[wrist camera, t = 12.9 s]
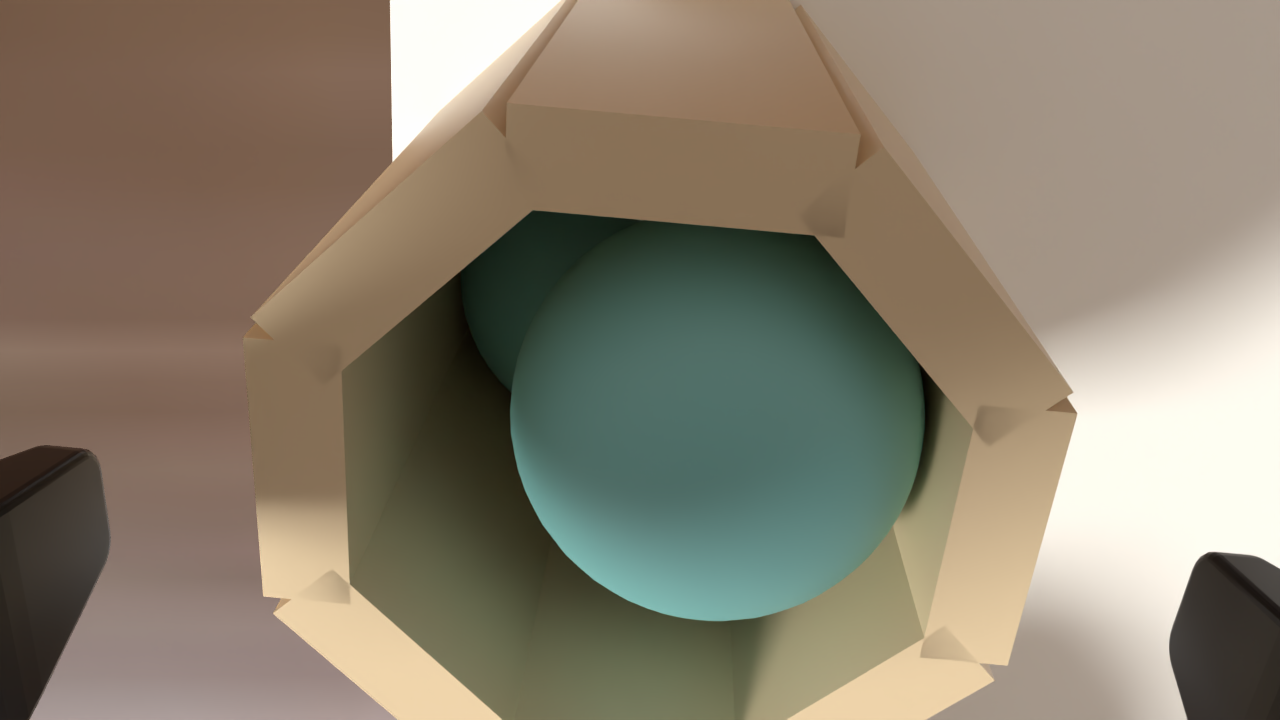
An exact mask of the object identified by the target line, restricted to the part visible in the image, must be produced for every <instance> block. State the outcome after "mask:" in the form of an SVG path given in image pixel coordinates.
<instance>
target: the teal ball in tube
mask: <svg viewBox="0 0 1280 720" xmlns="http://www.w3.org/2000/svg"><path fill="white" fill-rule="evenodd" d="M640 221H643V220H637V219H626V218H615V217H604V216H593V215H581V214H570V213H559V212H548V211H537V210H533V211H531V212H530V213H529V214H528V215H527V216H525V217H524V218H523V219H522V220H521V221H519V222H518V223H517V224H516V225H515V226H513V227H512V228H511V229H510V230H509V231H508V232H506V233H505V234H504V235H503V236H502V237H500V238H499V239H498V240H497V241H496V242H494V243H493V244H492V245H491V246H490V247H488V248H487V249H486V250H485V251H484V252H483V253H481V254H480V255H479V256H478V257H477V258H475V259H474V260H473V261H472V262H471V263H469V264H468V265H467V266H466V267H465V268H463V269H462V270H461V293H462V301H463V306H464V312H465V316H466V319H467V322H468V325H469V328H470V331H471V334H472V337H473V339H474V341H475V343H476V345H477V347H478V350H479V352H480V354H481V355H482V357H483V358H484V360H485V362H486V363H487V365H488V367H489V368H490V369H491V371H492V372H493V373H494V374H495V376H496V377H497V378H498V379H499V381H500V382H501V383H502V384H503V385H504V386H505V387H506V388H507V389H508V390H509V391H510V392H511V393H512V384H513V376H514V372H515V367H516V363H517V358H518V355H519V352H520V349H521V346H522V343H523V340H524V337H525V335H526V333H527V330H528V328H529V326H530V324H531V322H532V320H533V318H534V316H535V314H536V312H537V311H538V309H539V307H540V306H541V304H542V303H543V301H544V299H545V298H546V296H547V295H548V293H549V292H550V291H551V289H552V288H553V287H554V286H555V284H556V283H557V282H558V281H559V279H560V278H561V277H562V276H563V275H564V274H565V273H566V272H567V271H568V270H569V269H570V268H571V266H572V265H573V264H574V263H575V262H576V261H577V260H578V259H580V258H581V257H582V256H583V255H585V254H586V253H587V252H588V251H590V250H591V249H592V248H593V247H595V246H596V245H597V244H599V243H600V242H602V241H604V240H605V239H607V238H609V237H610V236H612V235H613V234H615V233H617V232H619V231H621V230H623V229H625V228H627V227H629V226H632V225H634V224H636V223H638V222H640Z"/></svg>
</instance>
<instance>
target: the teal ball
mask: <svg viewBox="0 0 1280 720" xmlns="http://www.w3.org/2000/svg"><path fill="white" fill-rule="evenodd" d="M510 421H511V437H512V442H513V448H514V454H515V459H516V463H517V468H518V471H519V474H520V477H521V480H522V483H523V486H524V489H525V492H526V494H527V496H528V498H529V500H530V502H531V504H532V506H533V508H534V510H535V512H536V514H537V516H538V517H539V519H540V521H541V523H542V525H543V526H544V527H545V529H546V530H547V531H548V533H549V534H550V535H551V537H552V538H553V539H554V540H555V542H556V543H557V544H558V546H559V547H560V548H561V549H562V551H563V552H564V553H565V555H566V556H567V557H569V558H570V559H571V560H572V561H573V562H574V563H575V564H576V565H577V566H578V567H579V568H581V569H582V570H583V571H584V572H585V573H586V574H588V575H589V576H590V577H591V578H592V579H593V580H594V581H596V582H598V583H599V584H601V585H602V586H604V587H605V588H607V589H609V590H610V591H612V592H614V593H615V594H617V595H619V596H621V597H622V598H624V599H626V600H628V601H630V602H632V603H635V604H637V605H640V606H642V607H645V608H647V609H650V610H653V611H656V612H659V613H662V614H666V615H671V616H675V617H680V618H686V619H694V620H704V621H729V620H741V619H751V618H758V617H762V616H766V615H770V614H774V613H777V612H780V611H783V610H786V609H789V608H792V607H794V606H797V605H800V604H803V603H805V602H807V601H809V600H811V599H813V598H815V597H817V596H819V595H820V594H822V593H823V592H825V591H826V590H828V589H830V588H831V587H833V586H834V585H836V584H837V583H839V582H840V581H841V580H843V579H844V578H845V577H847V576H848V575H849V574H850V573H852V572H853V571H854V570H855V569H856V568H858V567H859V566H860V565H861V564H862V563H863V562H864V561H865V560H866V559H867V558H868V557H869V556H870V555H871V554H872V552H873V551H874V550H875V549H876V548H877V547H878V546H879V544H880V543H881V542H882V540H883V539H884V538H885V537H886V535H887V534H888V533H889V531H890V529H891V528H892V526H893V525H894V523H895V522H896V520H897V518H898V516H899V515H900V513H901V511H902V509H903V507H904V505H905V503H906V501H907V498H908V496H909V494H910V491H911V489H912V486H913V483H914V480H915V477H916V474H917V470H918V465H919V461H920V456H921V452H922V447H923V441H924V432H925V401H924V390H923V381H922V375H921V371H920V367H919V363H918V361H917V360H916V359H915V357H914V356H913V355H912V354H911V352H910V351H909V350H908V349H907V348H906V346H905V345H904V344H903V343H902V341H901V340H900V339H899V338H898V337H897V335H896V334H895V333H894V332H893V331H892V329H891V328H890V327H889V326H888V324H887V323H886V322H885V321H884V320H883V318H882V317H881V316H880V315H879V313H878V312H877V311H876V310H875V309H874V307H873V306H872V305H871V304H870V303H869V301H868V300H867V299H866V298H865V296H864V295H863V294H862V293H861V292H860V290H859V289H858V288H857V287H856V286H855V284H854V283H853V282H852V281H851V279H850V278H849V277H848V276H847V275H846V273H845V272H844V271H843V270H842V268H841V267H840V266H839V265H838V264H837V262H836V261H835V260H834V259H833V258H832V256H831V255H830V254H829V253H828V251H827V250H826V249H825V248H824V247H823V245H822V244H821V243H820V242H819V240H818V239H817V238H816V237H815V236H814V235H804V234H792V233H781V232H770V231H759V230H748V229H737V228H726V227H715V226H704V225H692V224H681V223H670V222H659V221H648V220H643V221H640V222H638V223H636V224H634V225H632V226H629V227H627V228H625V229H623V230H621V231H619V232H617V233H615V234H613V235H612V236H610V237H609V238H607V239H605V240H604V241H602V242H600V243H599V244H597V245H596V246H595V247H593V248H592V249H591V250H590V251H588V252H587V253H586V254H585V255H583V256H582V257H581V258H580V259H578V260H577V261H576V262H575V263H574V264H573V265H572V266H571V268H570V269H569V270H568V271H567V272H566V273H565V274H564V275H563V276H562V277H561V278H560V279H559V281H558V282H557V283H556V284H555V286H554V287H553V288H552V289H551V291H550V292H549V293H548V295H547V296H546V298H545V299H544V301H543V303H542V304H541V306H540V307H539V309H538V311H537V312H536V314H535V316H534V318H533V320H532V322H531V324H530V326H529V328H528V330H527V333H526V335H525V337H524V340H523V343H522V346H521V349H520V352H519V355H518V358H517V363H516V367H515V372H514V376H513V384H512V395H511V406H510Z"/></svg>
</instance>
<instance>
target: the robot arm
mask: <svg viewBox="0 0 1280 720" xmlns="http://www.w3.org/2000/svg"><path fill="white" fill-rule="evenodd" d="M110 538H111V537H110V527H109V520H108V513H107V506H106V500H105V493H104V486H103V479H102V472H101V468H100V464H99V461H98V459H97V457H96V456H95V455H94V454H93V453H92V452H91V451H89V450H87V449H82V448H72V447H61V446H50V445H44V446H37V447H34V448H31V449H29V450H26V451H23V452H20V453H17V454H15V455H12V456H9V457H6V458H4V459H1V460H0V720H29V719H30V717H31V715H32V714H33V712H34V710H35V708H36V706H37V704H38V702H39V700H40V698H41V696H42V694H43V693H44V690H45V688H46V686H47V684H48V682H49V680H50V678H51V676H52V674H53V672H54V670H55V668H56V666H57V664H58V661H59V659H60V657H61V655H62V653H63V651H64V649H65V647H66V645H67V643H68V641H69V639H70V637H71V635H72V632H73V630H74V628H75V626H76V624H77V622H78V620H79V618H80V616H81V614H82V612H83V610H84V608H85V606H86V603H87V601H88V599H89V597H90V595H91V593H92V591H93V589H94V587H95V585H96V583H97V581H98V579H99V577H100V575H101V572H102V570H103V568H104V566H105V564H106V561H107V558H108V554H109V549H110ZM1169 655H1170V661H1171V666H1172V669H1173V673H1174V676H1175V679H1176V683H1177V686H1178V690H1179V693H1180V696H1181V700H1182V703H1183V707H1184V710H1185V714H1186V717H1187V720H1280V568H1278V567H1276V566H1275V565H1273V564H1271V563H1269V562H1268V561H1266V560H1264V559H1262V558H1260V557H1257V556H1253V555H1247V554H1236V553H1225V552H1208V553H1206V554H1204V555H1202V556H1200V557H1199V559H1198V560H1197V561H1196V563H1195V565H1194V567H1193V569H1192V572H1191V575H1190V577H1189V580H1188V583H1187V586H1186V589H1185V592H1184V595H1183V597H1182V600H1181V603H1180V606H1179V609H1178V612H1177V615H1176V617H1175V620H1174V623H1173V626H1172V629H1171V633H1170V639H1169Z"/></svg>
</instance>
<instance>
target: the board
mask: <svg viewBox="0 0 1280 720" xmlns="http://www.w3.org/2000/svg"><path fill="white" fill-rule="evenodd" d="M390 21H391V85H392V148H393V162H392V163H391V164H390V166H389V167H388V168H387V169H386V170H385V171H384V172H383V173H382V174H381V175H380V176H379V178H378V179H377V180H376V181H375V182H374V183H373V184H372V185H371V186H370V187H369V189H368V190H367V191H366V192H365V193H364V194H363V195H362V196H361V197H360V198H359V199H358V201H357V202H356V203H355V204H354V205H353V206H352V207H351V208H350V209H349V210H348V211H347V213H346V214H345V215H344V216H343V217H342V218H341V219H340V220H339V221H338V222H337V224H336V225H335V226H334V227H333V228H332V229H331V230H330V231H329V232H328V233H327V234H326V236H325V237H324V238H323V239H322V240H321V241H320V242H319V243H318V244H317V245H316V247H315V248H314V249H313V250H312V251H311V252H310V253H309V254H308V255H307V256H306V257H305V259H304V260H303V261H302V262H301V263H300V264H299V265H298V266H297V267H296V268H295V269H294V271H293V272H292V273H291V274H290V275H289V276H288V277H287V278H286V279H285V280H284V282H283V283H282V284H281V285H280V286H279V287H278V288H277V289H276V290H275V291H274V292H273V294H272V295H271V296H270V297H269V298H268V299H267V300H266V301H265V302H264V303H263V305H262V306H261V307H260V308H259V309H258V310H257V311H256V312H255V313H254V314H253V315H252V317H251V318H252V319H253V320H254V321H255V322H256V323H255V324H254V325H253V327H252V328H251V329H250V330H249V331H248V332H247V333H246V334H245V336H244V337H243V346H244V359H245V372H246V384H247V397H248V409H249V422H250V434H251V447H252V460H253V472H254V485H255V497H256V510H257V523H258V535H259V548H260V560H261V573H262V585H263V596H264V597H275V598H281V600H280V601H279V603H278V605H277V607H276V609H275V611H274V613H273V614H274V615H275V616H276V617H278V618H279V619H280V620H281V621H282V622H284V623H285V624H286V625H287V626H288V627H289V628H291V629H292V630H293V631H294V632H295V633H296V634H298V635H299V636H300V637H301V638H302V639H304V640H305V641H306V642H307V643H308V644H309V645H311V646H312V647H313V648H314V649H315V650H316V651H318V652H319V653H320V654H321V655H322V656H324V657H325V658H326V659H327V660H328V661H329V662H331V663H332V664H333V665H334V666H335V667H336V668H338V669H339V670H340V671H341V672H342V673H343V674H345V675H346V676H347V677H348V678H349V679H351V680H352V681H353V682H354V683H355V684H356V685H358V686H359V687H360V688H361V689H362V690H363V691H365V692H366V693H367V694H368V695H369V696H371V697H372V698H373V699H374V700H375V701H376V702H378V703H379V704H380V705H381V706H382V707H383V708H385V709H386V710H387V711H388V712H389V713H391V714H392V715H393V716H394V717H395V718H396V719H398V720H1187V717H1186V714H1185V710H1184V707H1183V703H1182V700H1181V696H1180V693H1179V690H1178V686H1177V683H1176V679H1175V676H1174V673H1173V669H1172V666H1171V661H1170V655H1169V639H1170V633H1171V629H1172V626H1173V623H1174V620H1175V617H1176V615H1177V612H1178V609H1179V606H1180V603H1181V600H1182V597H1183V595H1184V592H1185V589H1186V586H1187V583H1188V580H1189V577H1190V575H1191V572H1192V569H1193V567H1194V565H1195V563H1196V561H1197V560H1198V559H1199V557H1200V556H1202V555H1204V554H1206V553H1208V552H1225V553H1236V554H1247V555H1253V556H1257V557H1260V558H1262V559H1264V560H1266V561H1268V562H1269V563H1271V564H1273V565H1275V566H1276V567H1278V568H1280V0H390ZM533 210H537V211H548V212H559V213H570V214H581V215H593V216H604V217H615V218H626V219H637V220H648V221H659V222H670V223H681V224H692V225H704V226H715V227H726V228H737V229H748V230H759V231H770V232H781V233H792V234H804V235H814V236H815V237H816V238H817V239H818V240H819V242H820V243H821V244H822V245H823V247H824V248H825V249H826V250H827V251H828V253H829V254H830V255H831V256H832V258H833V259H834V260H835V261H836V262H837V264H838V265H839V266H840V267H841V268H842V270H843V271H844V272H845V273H846V275H847V276H848V277H849V278H850V279H851V281H852V282H853V283H854V284H855V286H856V287H857V288H858V289H859V290H860V292H861V293H862V294H863V295H864V296H865V298H866V299H867V300H868V301H869V303H870V304H871V305H872V306H873V307H874V309H875V310H876V311H877V312H878V313H879V315H880V316H881V317H882V318H883V320H884V321H885V322H886V323H887V324H888V326H889V327H890V328H891V329H892V331H893V332H894V333H895V334H896V335H897V337H898V338H899V339H900V340H901V341H902V343H903V344H904V345H905V346H906V348H907V349H908V350H909V351H910V352H911V354H912V355H913V356H914V357H915V359H916V360H917V361H918V363H919V367H920V371H921V375H922V381H923V390H924V401H925V432H924V441H923V447H922V452H921V456H920V461H919V465H918V470H917V474H916V477H915V480H914V483H913V486H912V489H911V491H910V494H909V496H908V498H907V501H906V503H905V505H904V507H903V509H902V511H901V513H900V515H899V516H898V518H897V520H896V522H895V523H894V525H893V526H892V528H891V529H890V531H889V533H888V534H887V535H886V537H885V538H884V539H883V540H882V542H881V543H880V544H879V546H878V547H877V548H876V549H875V550H874V551H873V552H872V554H871V555H870V556H869V557H868V558H867V559H866V560H865V561H864V562H863V563H862V564H861V565H860V566H859V567H858V568H856V569H855V570H854V571H853V572H852V573H850V574H849V575H848V576H847V577H845V578H844V579H843V580H841V581H840V582H839V583H837V584H836V585H834V586H833V587H831V588H830V589H828V590H826V591H825V592H823V593H822V594H820V595H819V596H817V597H815V598H813V599H811V600H809V601H807V602H805V603H803V604H800V605H797V606H794V607H792V608H789V609H786V610H783V611H780V612H777V613H774V614H770V615H766V616H762V617H758V618H751V619H741V620H729V621H704V620H694V619H686V618H680V617H675V616H671V615H666V614H662V613H659V612H656V611H653V610H650V609H647V608H645V607H642V606H640V605H637V604H635V603H632V602H630V601H628V600H626V599H624V598H622V597H621V596H619V595H617V594H615V593H614V592H612V591H610V590H609V589H607V588H605V587H604V586H602V585H601V584H599V583H598V582H596V581H594V580H593V579H592V578H591V577H590V576H589V575H588V574H586V573H585V572H584V571H583V570H582V569H581V568H579V567H578V566H577V565H576V564H575V563H574V562H573V561H572V560H571V559H570V558H569V557H567V556H566V555H565V553H564V552H563V551H562V549H561V548H560V547H559V546H558V544H557V543H556V542H555V540H554V539H553V538H552V537H551V535H550V534H549V533H548V531H547V530H546V529H545V527H544V526H543V525H542V523H541V521H540V519H539V517H538V516H537V514H536V512H535V510H534V508H533V506H532V504H531V502H530V500H529V498H528V496H527V494H526V492H525V489H524V486H523V483H522V480H521V477H520V474H519V471H518V468H517V463H516V459H515V454H514V448H513V442H512V437H511V421H510V406H511V395H512V393H511V392H510V391H509V390H508V389H507V388H506V387H505V386H504V385H503V384H502V383H501V382H500V381H499V379H498V378H497V377H496V376H495V374H494V373H493V372H492V371H491V369H490V368H489V367H488V365H487V363H486V362H485V360H484V358H483V357H482V355H481V354H480V352H479V350H478V347H477V345H476V343H475V341H474V339H473V337H472V334H471V331H470V328H469V325H468V322H467V319H466V316H465V312H464V306H463V301H462V293H461V270H462V269H463V268H465V267H466V266H467V265H468V264H469V263H471V262H472V261H473V260H474V259H475V258H477V257H478V256H479V255H480V254H481V253H483V252H484V251H485V250H486V249H487V248H488V247H490V246H491V245H492V244H493V243H494V242H496V241H497V240H498V239H499V238H500V237H502V236H503V235H504V234H505V233H506V232H508V231H509V230H510V229H511V228H512V227H513V226H515V225H516V224H517V223H518V222H519V221H521V220H522V219H523V218H524V217H525V216H527V215H528V214H529V213H530V212H531V211H533Z"/></svg>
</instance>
